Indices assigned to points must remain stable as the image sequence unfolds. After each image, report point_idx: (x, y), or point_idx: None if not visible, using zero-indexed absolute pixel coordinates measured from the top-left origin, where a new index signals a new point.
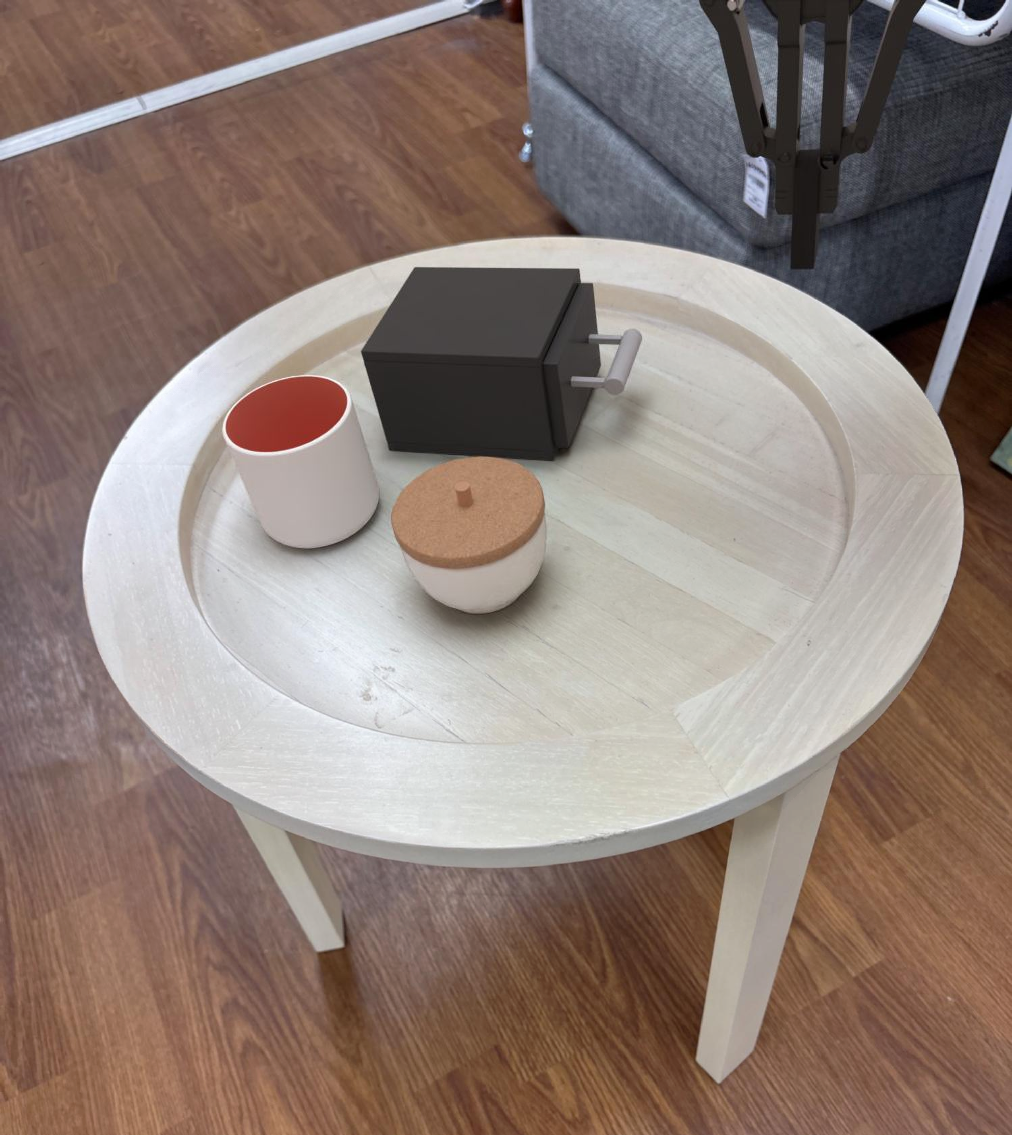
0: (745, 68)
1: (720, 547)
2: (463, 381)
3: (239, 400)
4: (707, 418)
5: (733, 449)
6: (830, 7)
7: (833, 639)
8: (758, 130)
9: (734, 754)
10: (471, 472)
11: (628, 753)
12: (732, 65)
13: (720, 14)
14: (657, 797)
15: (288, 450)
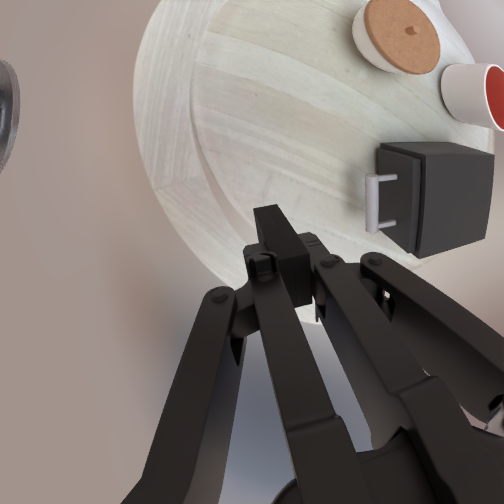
0: (455, 328)
1: (262, 86)
2: (448, 150)
3: None
4: (307, 201)
5: (283, 175)
6: (355, 488)
7: (177, 42)
8: (384, 273)
9: None
10: (418, 56)
11: None
12: (473, 325)
13: None
14: None
15: (490, 65)
